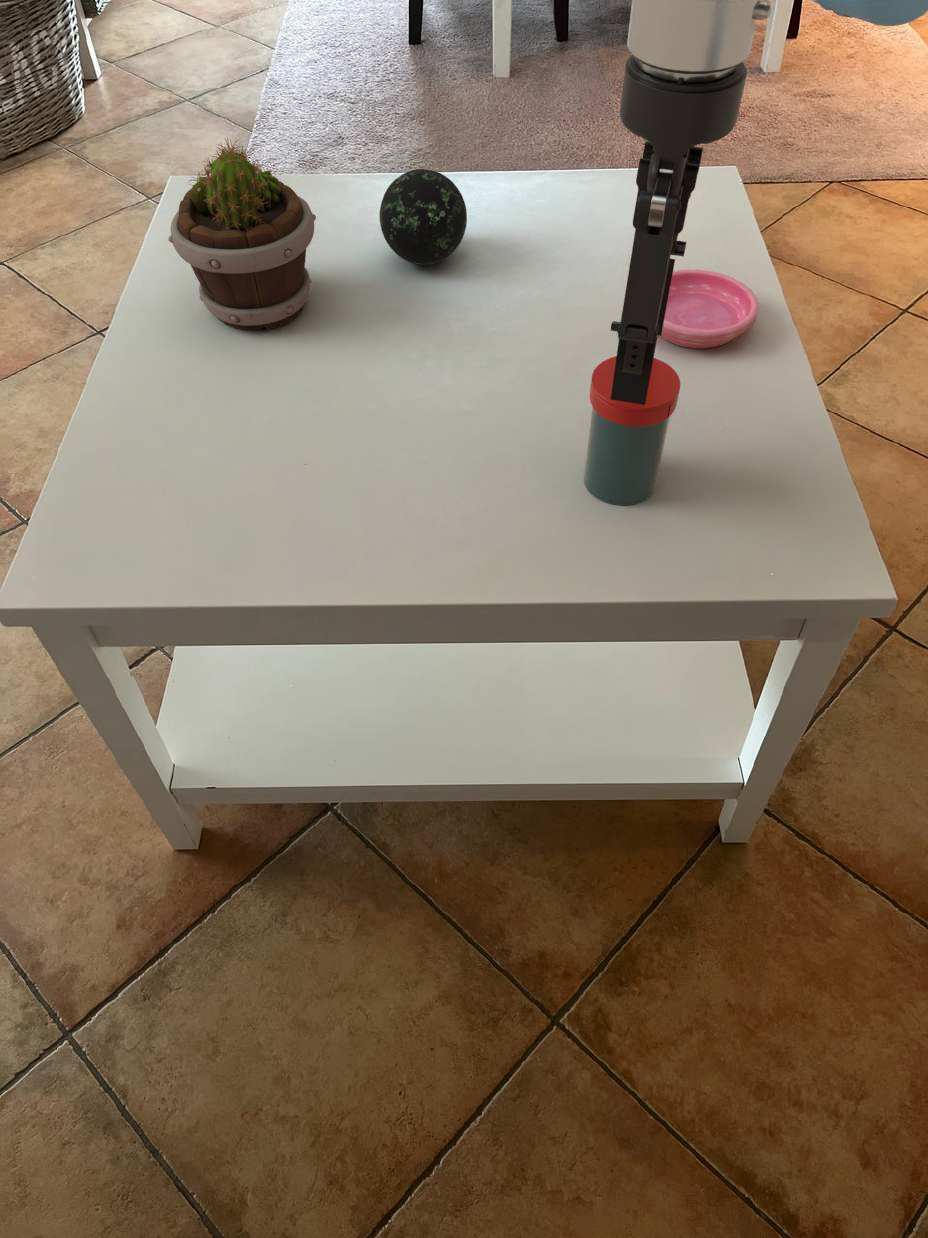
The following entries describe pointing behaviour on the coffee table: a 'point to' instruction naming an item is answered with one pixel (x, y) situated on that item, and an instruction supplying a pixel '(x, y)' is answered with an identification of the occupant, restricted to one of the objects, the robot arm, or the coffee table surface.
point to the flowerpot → (245, 242)
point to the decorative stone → (423, 216)
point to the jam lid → (630, 414)
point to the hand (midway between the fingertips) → (637, 363)
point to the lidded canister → (623, 460)
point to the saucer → (707, 309)
